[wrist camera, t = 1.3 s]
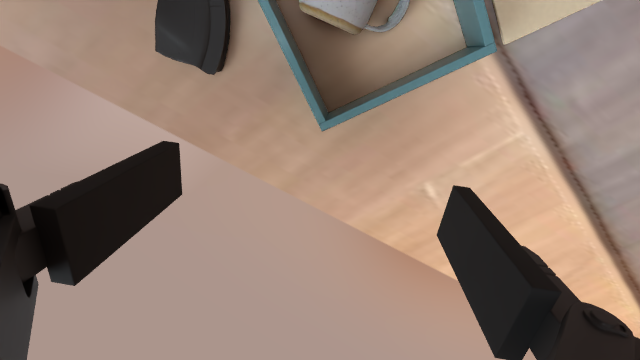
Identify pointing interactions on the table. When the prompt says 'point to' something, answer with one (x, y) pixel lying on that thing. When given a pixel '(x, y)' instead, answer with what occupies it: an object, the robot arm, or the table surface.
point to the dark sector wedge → (194, 32)
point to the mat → (532, 15)
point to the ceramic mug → (351, 13)
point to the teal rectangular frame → (478, 46)
